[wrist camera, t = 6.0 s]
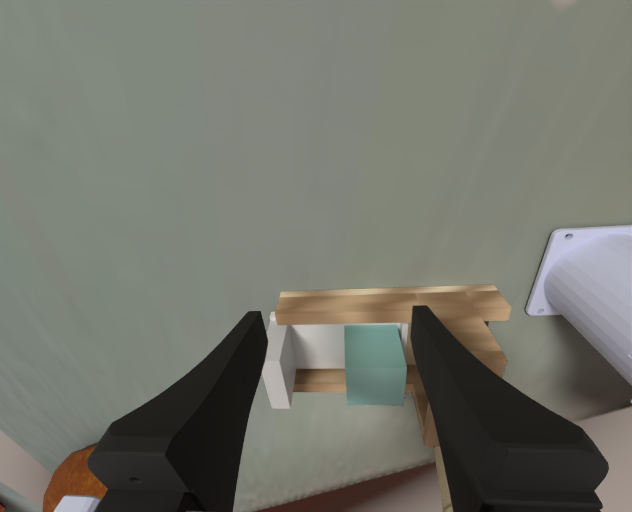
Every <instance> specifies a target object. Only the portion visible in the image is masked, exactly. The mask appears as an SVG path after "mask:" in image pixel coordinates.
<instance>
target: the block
mask: <svg viewBox="0 0 632 512" xmlns="http://www.w3.org/2000/svg"><path fill="white" fill-rule="evenodd" d="M344 342H345V375H346V391H347V405H404V395H405V384H406V373H407V366H406V362H405V358H404V353H403V349H402V345H401V341H400V337H399V333H398V328H397V324H391V325H344Z"/></svg>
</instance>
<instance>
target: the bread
mask: <svg viewBox="0 0 632 512" xmlns="http://www.w3.org/2000/svg"><path fill="white" fill-rule="evenodd" d="M96 445H97V444H95V445H93V446H90V447H87V448H84V449H81V450H79V451H76V452H73V453H71V454H70V455H69V456H68V457H67V458H66V459H65V460H64V462H63V463H62V464H61V465H60V466H59V467H58V468H57V469H56V470H55V472H54V474H53V476H52V479H51V481H50V483H49V486H48V488H47V490H46V493H45V495H44V502H43V512H54V510H55V509H56V507H57V506H58V504H59V503H60V501H61V500H62V498H63V497H64V496H66V495H83V496H95V497H98V498H101V499H102V498H103V497H104V495H105V493H106V491H107V490H108V489H107V488H106V487H105V486H104V484H103V483H102V482H101V481H100V480H99V479H98V478H97V477H96V476H95V475H94V474H93V473H92V472H91V471H90V470H89V468H88V464H87V460H88V457H89V456H90V454H91V453H92V451H93V450H94V448H95V447H96Z"/></svg>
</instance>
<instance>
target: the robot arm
mask: <svg viewBox="0 0 632 512" xmlns="http://www.w3.org/2000/svg"><path fill="white" fill-rule="evenodd" d="M567 234H569V235H568V236H567V237H565V236H566V235H567ZM539 309H540V310H539ZM525 311H526V312H527V313H528V314H529V315H563V316H564V317H565V318H566V319H567V320H568V321H569V322H570V323H571V324H572V325H573V326H574V327H575V328H576V329H577V330H578V332H579V333H580V334H581V335H582V336H583V337H584V338H585V339H586V340H587V341H588V342H589V343H590V344H591V345H592V346H593V347H594V348H595V349H596V350H597V351H598V352H599V353H600V354H601V355H602V356H603V357H604V358H605V359H606V360H607V361H608V362H609V363H610V364H611V365H612V366H613V367H614V368H615V369H616V370H617V371H618V372H619V374H620V375H621V376H622V377H623V378H624V379H625V380H626V381H627V382H628V383H629V384H630V385H631V386H632V225H625V226H605V227H586V228H567V229H557V230H555V231H554V232H553V233H552V234H551V236H550V239H549V242H548V245H547V248H546V251H545V254H544V257H543V260H542V262H541V265H540V268H539V271H538V274H537V277H536V280H535V283H534V286H533V289H532V292H531V294H530V297H529V300H528V303H527V306H526V310H525ZM410 340H411V345H412V350H413V354H414V359H415V362H416V365H417V368H418V371H419V374H420V377H421V380H422V383H423V386H424V389H425V392H426V395H427V398H428V401H429V404H430V407H431V411H432V414H433V418H434V423H435V427H436V431H437V436H438V440H439V445H440V449H441V454H442V458H443V463H444V468H445V473H446V478H447V482H448V487H449V492H450V497H451V503H452V508H453V512H601V511H600V510H599V509H602V508H603V506H602V503H601V501H600V500H599V498H598V496H597V495H596V493H595V492H594V490H595V489H596V488H597V487H598V485H599V484H600V483H601V482H602V481H603V479H604V478H605V477H606V475H607V473H608V470H609V466H608V462H607V461H606V459H605V458H604V456H603V455H602V454H601V452H600V451H599V449H598V448H597V447H596V445H595V444H594V442H593V441H592V440H591V439H590V437H589V436H588V435H587V434H586V433H585V431H584V430H583V429H582V428H581V427H579V426H577V425H576V424H574V423H572V422H570V421H568V420H567V419H565V418H563V417H561V416H559V415H558V414H556V413H554V412H552V411H550V410H549V409H547V408H545V407H544V406H542V405H541V404H539V403H537V402H536V401H534V400H533V399H531V398H529V397H528V396H526V395H525V394H523V393H522V392H520V391H519V390H517V389H516V388H515V387H513V386H512V385H510V384H509V383H508V382H506V381H505V380H503V379H502V378H501V377H499V376H498V375H497V374H495V373H494V372H493V371H492V370H490V369H489V368H488V367H487V366H485V365H484V364H483V363H482V362H481V361H480V360H478V359H477V358H476V357H475V356H474V355H473V354H472V353H471V352H470V351H469V350H468V349H466V348H465V347H464V346H463V345H462V344H461V343H460V342H459V341H458V340H457V339H456V338H455V336H454V335H453V334H452V333H451V332H450V331H449V330H448V329H447V328H446V327H445V326H444V325H443V324H442V322H441V321H440V320H439V319H438V318H437V317H436V315H435V314H434V313H433V312H432V311H431V309H430V308H429V307H428V306H427V305H418V306H413V308H412V321H411V334H410ZM267 347H268V338H267V334H266V330H265V326H264V323H263V319H262V315H261V311H248V313H247V314H246V315H245V316H244V317H243V318H242V319H241V320H240V321H239V323H238V324H237V325H236V326H235V327H234V328H233V329H232V331H231V332H230V333H229V334H228V335H227V336H226V337H225V338H224V339H223V340H222V342H221V343H220V344H219V345H218V346H217V347H216V348H215V349H214V350H213V351H212V352H211V353H210V354H209V355H208V356H207V357H206V358H205V359H204V360H203V361H201V362H200V363H199V364H198V365H197V366H196V367H195V368H193V369H192V370H191V371H190V372H189V373H187V374H186V375H185V376H184V377H182V378H181V379H180V380H178V381H177V382H176V383H174V384H173V385H172V386H170V387H169V388H168V389H166V390H165V391H164V392H162V393H161V394H159V395H158V396H156V397H155V398H153V399H152V400H150V401H148V402H147V403H145V404H144V405H142V406H141V407H139V408H137V409H136V410H134V411H132V412H130V413H129V414H127V415H125V416H123V417H122V418H120V419H118V420H116V421H114V422H113V423H112V424H111V425H110V426H109V428H108V429H107V431H106V432H105V434H104V435H103V437H102V438H101V440H100V441H99V442H98V444H97V445H96V447H95V448H94V450H93V451H92V453H91V454H90V456H89V457H88V460H87V464H88V468H89V470H90V471H91V472H92V473H93V474H94V475H95V476H96V477H97V478H98V479H99V480H100V481H101V482H102V483H103V484H104V486H105V487H106V488H107V489H108V490H107V491H106V493H105V495H104V497H103V498H102V499H101V498H98V497H95V496H83V495H66V496H64V497H63V498H62V500H61V501H60V503H59V504H58V506H57V507H56V509H55V510H54V512H233V505H234V498H235V491H236V484H237V478H238V471H239V465H240V459H241V454H242V448H243V443H244V437H245V432H246V427H247V422H248V418H249V413H250V409H251V406H252V402H253V399H254V396H255V392H256V389H257V386H258V383H259V379H260V376H261V373H262V370H263V366H264V363H265V358H266V353H267ZM630 402H631V403H632V399H631V401H630Z"/></svg>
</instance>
